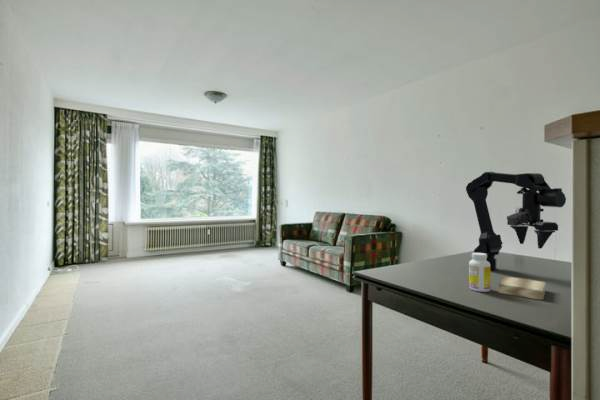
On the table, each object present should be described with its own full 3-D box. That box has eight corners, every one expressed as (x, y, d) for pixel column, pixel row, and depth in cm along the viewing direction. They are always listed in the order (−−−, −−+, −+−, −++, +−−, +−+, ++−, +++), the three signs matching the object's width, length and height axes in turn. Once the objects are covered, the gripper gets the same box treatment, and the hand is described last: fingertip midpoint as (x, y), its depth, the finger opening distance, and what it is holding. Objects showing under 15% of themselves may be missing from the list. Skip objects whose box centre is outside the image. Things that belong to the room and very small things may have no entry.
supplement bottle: (489, 287, 115) (489, 252, 114) (491, 293, 109) (491, 256, 108) (468, 285, 118) (468, 251, 117) (469, 291, 112) (469, 254, 111)
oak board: (499, 292, 109) (499, 284, 109) (504, 284, 118) (504, 276, 118) (543, 300, 101) (543, 290, 101) (545, 290, 111) (545, 282, 110)
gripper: (495, 204, 131) (494, 242, 132) (529, 207, 112) (528, 251, 113) (521, 204, 131) (520, 241, 132) (559, 207, 113) (558, 250, 113)
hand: (530, 246), depth 123 cm, fingers open, 9 cm apart
